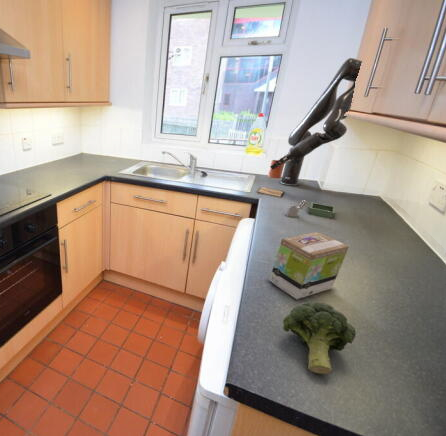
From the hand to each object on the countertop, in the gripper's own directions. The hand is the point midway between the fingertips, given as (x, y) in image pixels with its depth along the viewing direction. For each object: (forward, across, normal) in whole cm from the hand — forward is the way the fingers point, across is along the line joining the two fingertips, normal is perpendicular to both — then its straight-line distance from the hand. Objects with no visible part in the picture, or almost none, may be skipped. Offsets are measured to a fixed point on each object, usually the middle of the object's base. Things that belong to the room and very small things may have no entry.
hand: (273, 167), depth 168 cm
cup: (+3, 0, -5) cm, 6 cm away
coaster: (+9, 0, -11) cm, 15 cm away
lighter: (-6, -29, -28) cm, 40 cm away
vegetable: (-28, -113, -50) cm, 127 cm away
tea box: (-21, -88, -42) cm, 100 cm away
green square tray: (-11, -14, -32) cm, 37 cm away
